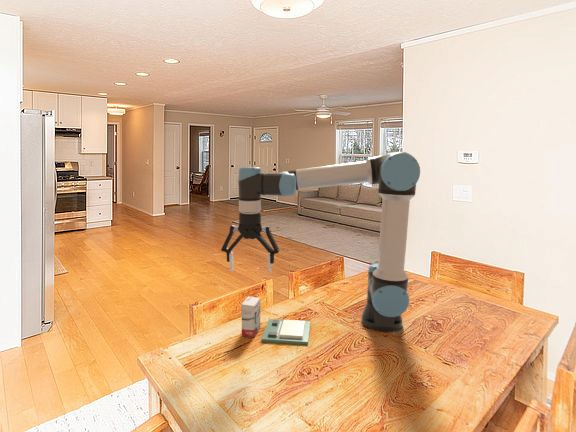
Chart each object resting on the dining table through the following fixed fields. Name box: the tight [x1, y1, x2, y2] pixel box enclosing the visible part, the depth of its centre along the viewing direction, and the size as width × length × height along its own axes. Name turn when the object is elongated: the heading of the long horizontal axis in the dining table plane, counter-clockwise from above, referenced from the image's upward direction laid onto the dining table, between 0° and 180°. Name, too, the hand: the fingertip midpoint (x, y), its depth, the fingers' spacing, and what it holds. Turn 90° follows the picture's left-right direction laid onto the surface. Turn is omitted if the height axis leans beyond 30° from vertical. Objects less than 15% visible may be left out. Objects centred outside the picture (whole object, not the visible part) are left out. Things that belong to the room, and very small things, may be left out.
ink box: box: [241, 296, 261, 338], centre depth 137 cm, size 9×5×12 cm, turn 168°
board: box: [260, 318, 311, 346], centre depth 138 cm, size 16×16×2 cm
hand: (250, 271), depth 135 cm, fingers open, 13 cm apart
